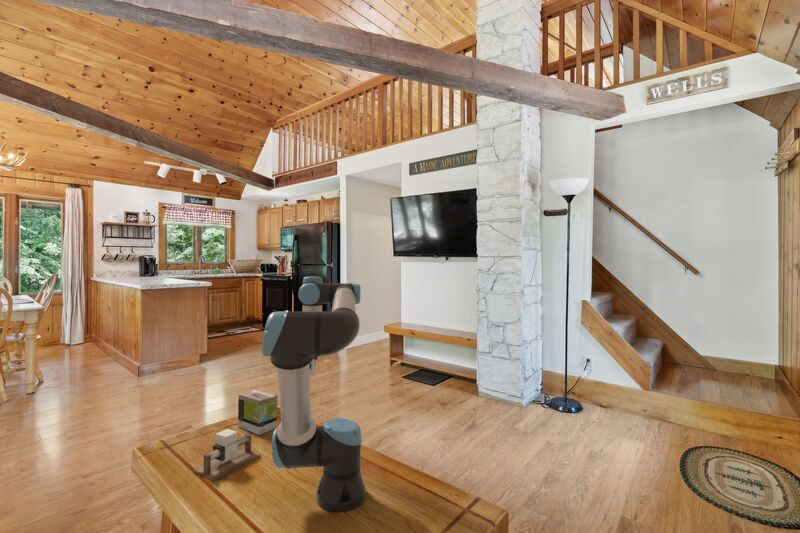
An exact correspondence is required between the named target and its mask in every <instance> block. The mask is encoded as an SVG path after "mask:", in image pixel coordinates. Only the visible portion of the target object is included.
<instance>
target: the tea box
mask: <svg viewBox="0 0 800 533" xmlns="http://www.w3.org/2000/svg"><path fill="white" fill-rule="evenodd" d="M278 401H279V400H278V395H277V394H275V393H271V392H267V391H264V390H261V389H257V388H256V389H252V390H249V391H246V392H243V393H239V394H238V403H237V404H238V405H237V406H238V407H237V409H238V410H237V411H238V412H237V428H240V429H243V430H245V431H248V432H250V433H253V434H255V435H258V436H260V435H263V434H266V433H268V432H270V431H274V430H275V429H276V428H277V427H278Z"/></svg>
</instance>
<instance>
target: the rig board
mask: <svg viewBox="0 0 800 533" xmlns="http://www.w3.org/2000/svg"><path fill="white" fill-rule="evenodd" d="M244 436H248V438H249V441H248V442H247V443H245V444H244V448H243V447H241V446H239V447H237V456H235V457H233V458H231V459H230V460H228V461H226V462H225V461H219V460H216V459H213V460H211V455H210V454H209V453H205V454H203V464H201V465H199V466H197V467H195V468H193V469H192V470H193V472H192V473H193V474H196V473H197V474H196V475H199V476H201V475H202V476H201V477H204V476H205V477H204V478H206V477H207V479H209V478H210V479H209V480H211V479H212V480H211V481H214V482H219V481H220V480H222V479H224V478H226V477H228V476H230V475H232V474H233V473H235V472H237V471H238V470H241V468H243V467H246V466H247V465H249V464H251V463H252V462H254V461H256V460H257V459H260V458H261V456H262V454H261V453H259V452H256V451H253V450H252V434H249V433H246V434H245V435H244Z"/></svg>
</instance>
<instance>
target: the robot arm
mask: <svg viewBox="0 0 800 533" xmlns="http://www.w3.org/2000/svg"><path fill="white" fill-rule="evenodd" d="M297 294H298V299H299V300H300V302H301V303H302V311H296V310H295V311H289V310H287V309H286V310H284V311H273V312H271V313H270V314H269V315H268V317H267V320H266V323H265V327H264V331H263V338H262V342H261V343H262V345H261V352H262V355H263V356H264V357H270V363H271V365H272V366H273V367H274V368H276V369H277V371H276V372H277V381H278V382H277V384H278V394H279V409H280V419H281V420H280V421H281V422H280V423H279V424H278V425H277V428H275V429H273V433H272V437H271V457H272V461H273V462H272V463H273V464H274V466H275V467H276V468H279V469H288V470H289V469H299V468H300V469H301V468H303V469H304V468H318V467H319V468H320V467H323V468H322V469H323V470H322V475H321V478H320V481H319V484H318V487H317V489H316V502H317V504H318V505H319V506H320V507H321V508H322V509H324V510H326V511H329V512H334V513H338V512H340V513H341V512H347V511H352V510H353V509H356V508H357V507H359V506H360V505H362V504H363V502H364V501H365V498H366V486H365V484H364V479H363V476H362V473H361V461H362V460H361V456H362V455H361V452H362V451H361V444H362V430H361V427H360V425H359V424H358V423H356V422H354V421H353V420H351V419H348V418H341V417H336V418H335V417H333V418H332V419H331V418H330V419H327V420H326V421H325V422H324V424H323V425H317V424H316V420H315V419H314V418H313V417H312V413H311V412H312V407H311V406H312V405H311V378H314V377H315V376H316V375H315V374H316V373H315V372H316V371H315V370H316V368H315V367H316V360H318V359H319V357H321V356H330V355H331V356H332V355H334V354H337V353H339V352H341V351H342V350H344V349H346V348H347V347H348V346H350V344H352V343H353V341H354V340H355V339H356V338H357V337H358V336H357V335H358V333H359V330H360V318H359V315H358V314H357V313H356V310H357V309H356V305H358V304H360V303H361V285H360V284H358V283H352V282H350V283H349V282H348V283H339V282H338V283H336V282H335V283H331V282H328V283H325V282H323V277H321V276H304V277H303V280H302V285H300V287H299V289H298V293H297ZM324 304H325V305H326V304H327V305H329V304H330V305H332V307H331V311H323V305H324Z"/></svg>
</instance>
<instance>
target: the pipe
mask: <svg viewBox="0 0 800 533" xmlns="http://www.w3.org/2000/svg"><path fill="white" fill-rule="evenodd" d="M248 441H249V438H248V436H245V435H244V436H242V437H240V438H238V442H237V447H241V446H243V445H245V443H247V442H248ZM208 454H210V455H211V460H213V459H215V458H218V457H220V456H221V450H220V449H216V450H215V451H213V450H212V451H211V452H209V453H208Z"/></svg>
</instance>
